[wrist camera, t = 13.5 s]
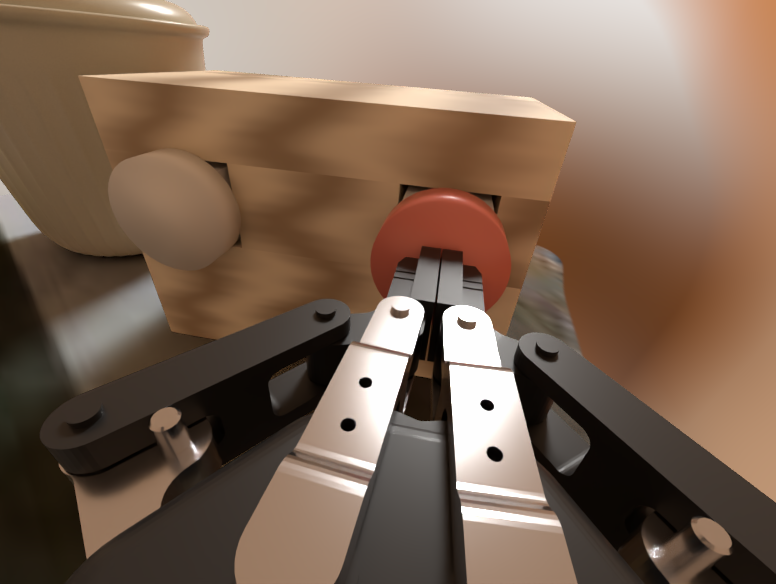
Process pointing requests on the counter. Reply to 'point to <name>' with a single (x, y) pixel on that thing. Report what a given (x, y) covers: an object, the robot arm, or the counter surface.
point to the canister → (77, 105)
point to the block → (327, 179)
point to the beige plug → (175, 207)
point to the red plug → (444, 236)
